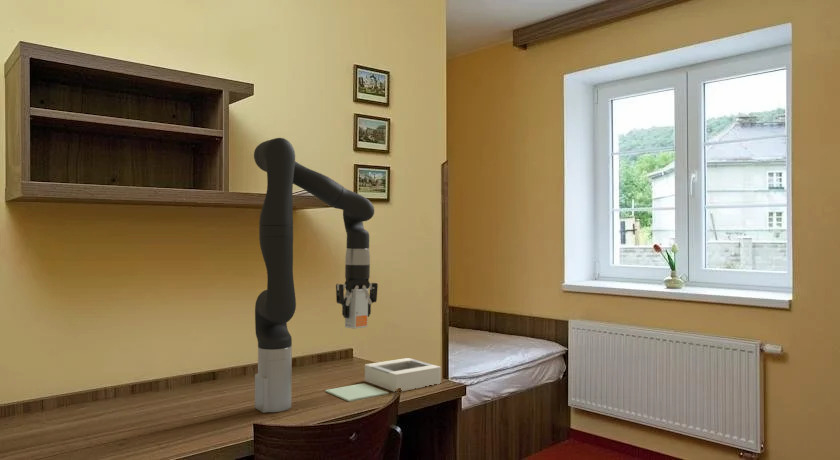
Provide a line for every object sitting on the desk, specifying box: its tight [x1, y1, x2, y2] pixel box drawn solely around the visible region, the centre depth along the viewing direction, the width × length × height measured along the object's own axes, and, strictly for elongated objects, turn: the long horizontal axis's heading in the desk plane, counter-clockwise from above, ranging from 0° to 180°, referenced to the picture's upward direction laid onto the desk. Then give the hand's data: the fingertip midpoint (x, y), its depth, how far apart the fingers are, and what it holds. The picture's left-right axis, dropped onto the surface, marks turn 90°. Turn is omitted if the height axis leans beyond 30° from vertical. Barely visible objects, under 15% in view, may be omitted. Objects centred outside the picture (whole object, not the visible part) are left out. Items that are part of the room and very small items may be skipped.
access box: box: [364, 357, 442, 393], centre depth 197 cm, size 18×18×6 cm
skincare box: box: [344, 288, 369, 330], centre depth 184 cm, size 6×4×12 cm
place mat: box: [325, 382, 389, 402], centre depth 184 cm, size 14×14×1 cm
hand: (356, 317), depth 184 cm, fingers closed on skincare box, 6 cm apart
